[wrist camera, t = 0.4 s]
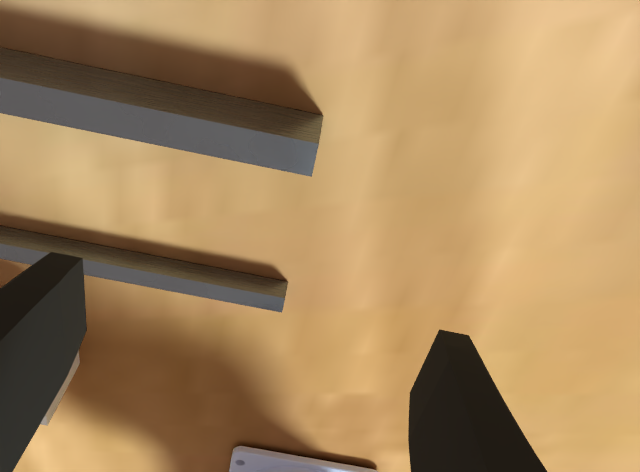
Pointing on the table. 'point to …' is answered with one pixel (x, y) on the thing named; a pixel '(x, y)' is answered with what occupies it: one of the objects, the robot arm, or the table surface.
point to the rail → (165, 130)
